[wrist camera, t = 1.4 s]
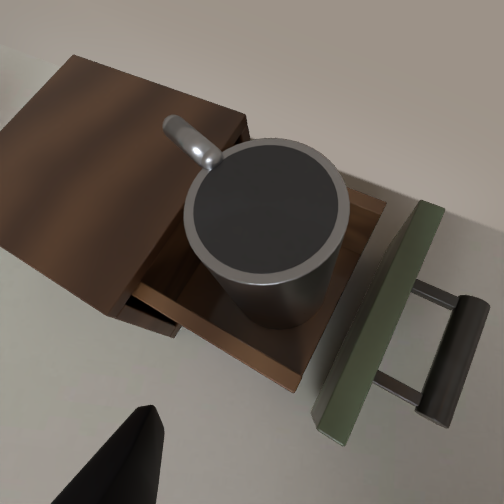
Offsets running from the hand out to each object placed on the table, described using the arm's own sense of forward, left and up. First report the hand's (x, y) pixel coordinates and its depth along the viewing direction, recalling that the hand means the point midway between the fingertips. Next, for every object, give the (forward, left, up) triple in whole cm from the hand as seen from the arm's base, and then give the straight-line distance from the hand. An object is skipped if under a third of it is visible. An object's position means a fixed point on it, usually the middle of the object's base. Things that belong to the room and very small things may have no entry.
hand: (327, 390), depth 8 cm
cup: (+8, 0, -11) cm, 13 cm away
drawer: (+5, -2, -12) cm, 13 cm away
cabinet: (+16, +6, -13) cm, 21 cm away
